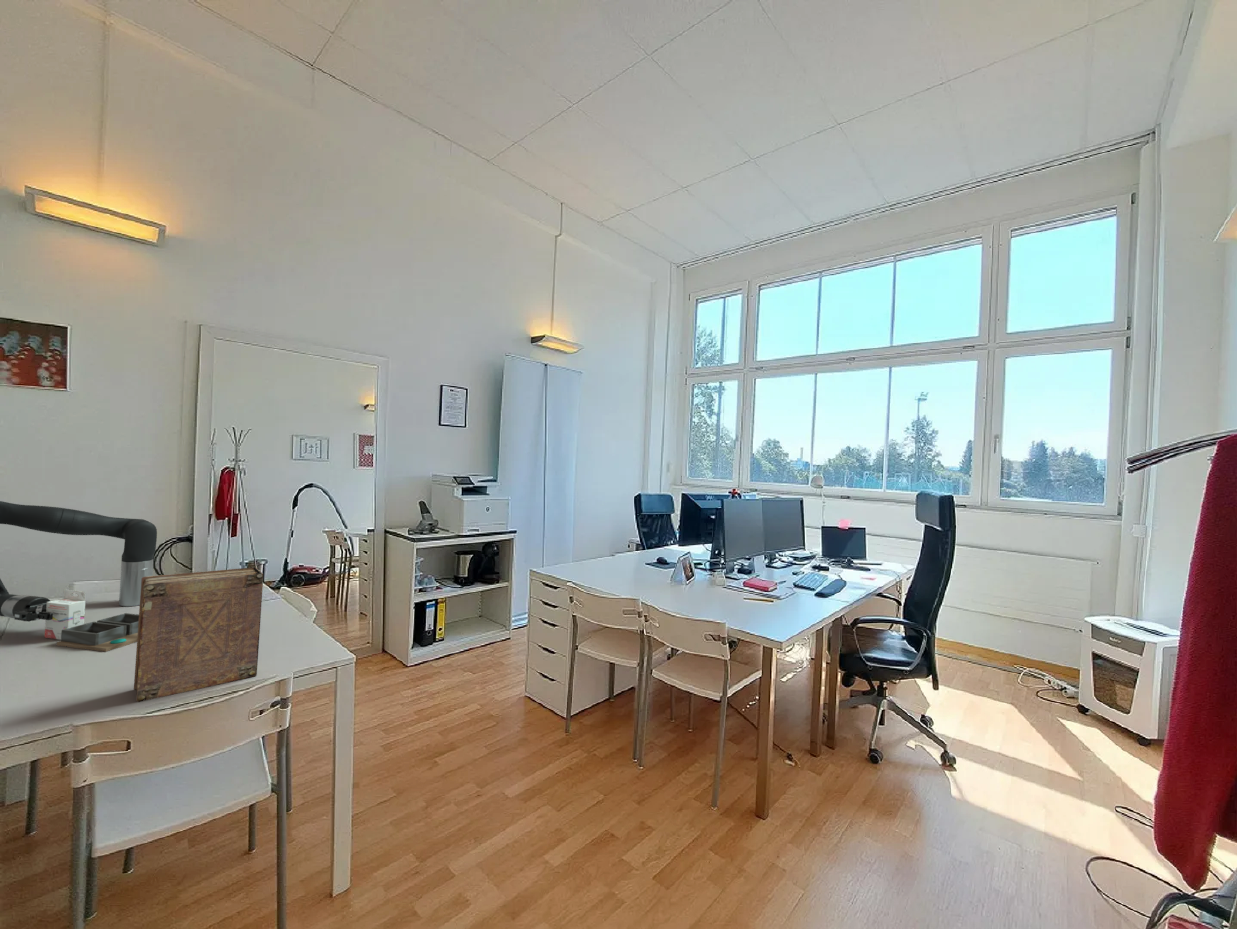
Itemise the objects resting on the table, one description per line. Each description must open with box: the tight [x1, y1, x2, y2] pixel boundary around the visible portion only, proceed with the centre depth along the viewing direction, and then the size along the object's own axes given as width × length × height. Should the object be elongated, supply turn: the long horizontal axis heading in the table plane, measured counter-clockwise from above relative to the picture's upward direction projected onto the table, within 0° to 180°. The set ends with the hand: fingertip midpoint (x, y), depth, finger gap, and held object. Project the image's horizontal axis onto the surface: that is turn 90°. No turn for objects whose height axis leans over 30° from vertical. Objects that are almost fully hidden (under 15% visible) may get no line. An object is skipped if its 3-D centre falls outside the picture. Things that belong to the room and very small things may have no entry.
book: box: [133, 566, 264, 703], centre depth 138 cm, size 25×9×30 cm, turn 136°
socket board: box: [56, 612, 139, 653], centre depth 164 cm, size 20×18×4 cm
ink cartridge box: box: [44, 589, 86, 641], centre depth 162 cm, size 9×5×15 cm, turn 84°
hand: (68, 612), depth 162 cm, fingers open, 8 cm apart
